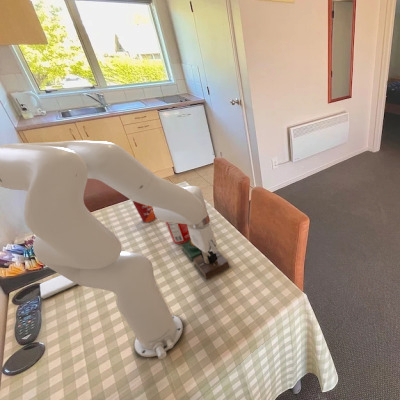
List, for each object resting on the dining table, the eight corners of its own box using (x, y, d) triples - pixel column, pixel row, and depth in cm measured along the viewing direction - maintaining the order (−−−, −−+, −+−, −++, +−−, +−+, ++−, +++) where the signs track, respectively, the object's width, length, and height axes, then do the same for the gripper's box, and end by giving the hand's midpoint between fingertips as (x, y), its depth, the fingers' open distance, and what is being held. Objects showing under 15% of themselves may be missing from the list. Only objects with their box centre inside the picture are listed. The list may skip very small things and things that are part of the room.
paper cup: (152, 223, 130) (142, 198, 122) (137, 223, 130) (125, 198, 122) (161, 214, 136) (151, 190, 129) (146, 214, 136) (136, 190, 129)
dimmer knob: (217, 259, 103) (214, 248, 100) (208, 265, 100) (205, 254, 97) (212, 255, 105) (208, 244, 102) (202, 260, 102) (199, 250, 100)
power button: (202, 243, 110) (201, 240, 109) (193, 247, 108) (192, 244, 107) (198, 239, 112) (197, 236, 112) (190, 243, 110) (189, 240, 109)
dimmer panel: (229, 267, 103) (227, 261, 102) (206, 279, 98) (204, 273, 96) (216, 253, 110) (214, 247, 108) (195, 264, 105) (192, 258, 103)
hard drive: (42, 286, 96) (84, 268, 104) (43, 299, 91) (87, 279, 99) (39, 283, 95) (82, 265, 103) (40, 296, 90) (85, 276, 98)
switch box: (213, 250, 112) (211, 243, 110) (192, 261, 106) (189, 253, 104) (203, 239, 118) (201, 232, 116) (183, 249, 113) (180, 242, 111)
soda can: (176, 247, 114) (165, 219, 106) (171, 239, 119) (160, 211, 111) (195, 239, 118) (185, 211, 110) (189, 231, 123) (179, 204, 115)
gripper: (175, 217, 95) (189, 255, 104) (201, 234, 86) (213, 274, 95) (194, 207, 100) (206, 245, 109) (221, 223, 91) (231, 262, 100)
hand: (209, 258), depth 102 cm, fingers closed on dimmer knob, 4 cm apart
